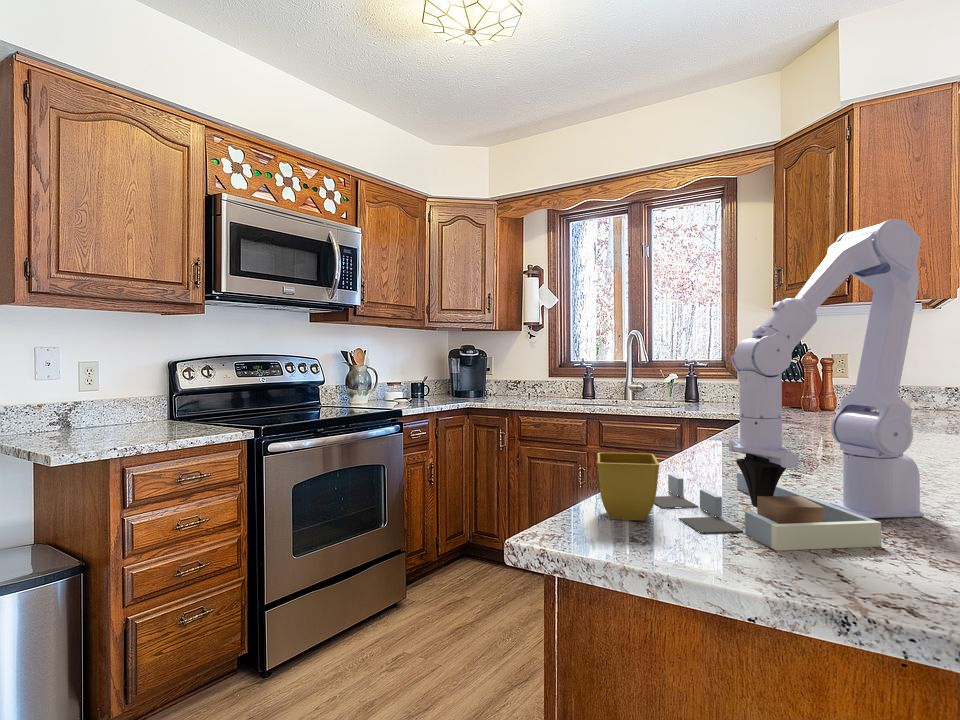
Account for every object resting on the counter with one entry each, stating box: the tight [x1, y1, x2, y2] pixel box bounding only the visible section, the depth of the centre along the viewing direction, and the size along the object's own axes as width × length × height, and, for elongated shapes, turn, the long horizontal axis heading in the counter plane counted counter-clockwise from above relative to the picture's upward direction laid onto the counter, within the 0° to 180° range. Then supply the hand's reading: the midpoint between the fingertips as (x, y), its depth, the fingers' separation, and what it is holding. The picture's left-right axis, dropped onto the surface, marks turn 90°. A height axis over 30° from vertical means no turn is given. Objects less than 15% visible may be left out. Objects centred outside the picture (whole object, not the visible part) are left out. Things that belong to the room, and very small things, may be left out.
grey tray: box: [667, 471, 874, 549], centre depth 88 cm, size 14×31×3 cm, turn 5°
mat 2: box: [678, 516, 744, 534], centre depth 81 cm, size 6×7×1 cm
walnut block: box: [756, 496, 824, 524], centre depth 78 cm, size 6×6×4 cm
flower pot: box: [596, 451, 660, 522], centre depth 86 cm, size 9×9×9 cm
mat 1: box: [653, 495, 699, 509], centre depth 94 cm, size 6×7×1 cm
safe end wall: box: [770, 519, 882, 551], centre depth 72 cm, size 14×1×3 cm, turn 95°
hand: (761, 506), depth 86 cm, fingers closed
